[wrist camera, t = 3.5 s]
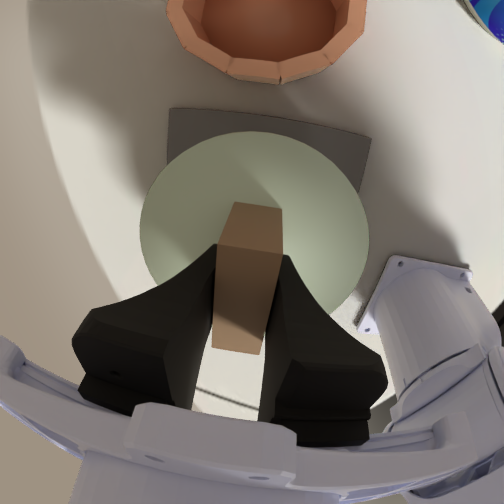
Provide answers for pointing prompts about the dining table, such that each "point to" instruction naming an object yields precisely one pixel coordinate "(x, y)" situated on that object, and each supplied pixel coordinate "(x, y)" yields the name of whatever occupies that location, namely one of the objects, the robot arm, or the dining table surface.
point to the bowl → (268, 35)
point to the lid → (255, 227)
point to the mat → (223, 122)
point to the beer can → (489, 16)
